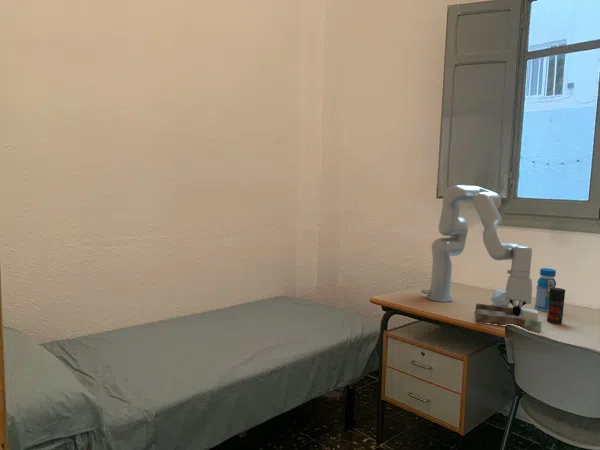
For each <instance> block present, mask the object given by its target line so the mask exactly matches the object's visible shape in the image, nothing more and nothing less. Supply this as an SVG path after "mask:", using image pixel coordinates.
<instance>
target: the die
mask: <svg viewBox="0 0 600 450" xmlns="http://www.w3.org/2000/svg"><path fill="white" fill-rule="evenodd" d="M505 292H506V289H505V290H503V289H495V290H494V291H493V293H492V295H491V298H490V301H492V303H493V305H494V306H501V307H509V305H510V304H511V303H510V302H507V301H505V300H504V298H505V296H506V295H505Z"/></svg>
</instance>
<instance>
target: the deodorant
mask: <svg viewBox="0 0 600 450" xmlns="http://www.w3.org/2000/svg"><path fill="white" fill-rule="evenodd" d="M565 297H566V289H564V288H560V287H555V288H550V295H549V304H548V312H547V316H546V322H547V323H549V324H554V325H561V324H562V323H563V318H564V317H563V316H564V315H563V314H564V309H565V308H564V305H565Z"/></svg>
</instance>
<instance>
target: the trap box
mask: <svg viewBox="0 0 600 450" xmlns="http://www.w3.org/2000/svg"><path fill="white" fill-rule="evenodd" d="M521 310H522V308H521ZM476 322H481V323H490V324H497V325H506V324H514V325H517V326H520V327H522V328H525V329H528V330H527V331H532V332H534V331H535V332H541V329H542V321H540V320H538V321H534V320H526V319H521V312H520V314H519V316H517V315H516V316H514V313H513V307H509V306H508V307H501V306H495V305H494V304H493V305H492V304H485V303H475V323H476ZM481 323H480V324H481ZM525 329H524V330H525Z"/></svg>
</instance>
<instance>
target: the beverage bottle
mask: <svg viewBox="0 0 600 450" xmlns="http://www.w3.org/2000/svg"><path fill="white" fill-rule="evenodd" d="M556 272H557V271H556V269H553V268H549V267H547V268H546V267H541V268H540V269H539V278H538V279H537V282H536V283H537V285H536V294H535V304H534V308H535V310H537V311H540V312H541V311H542V312H546V313H548V304H549V295H550V288H556V287H557V282H556V279H555V278H556V275H557V274H556Z"/></svg>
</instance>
